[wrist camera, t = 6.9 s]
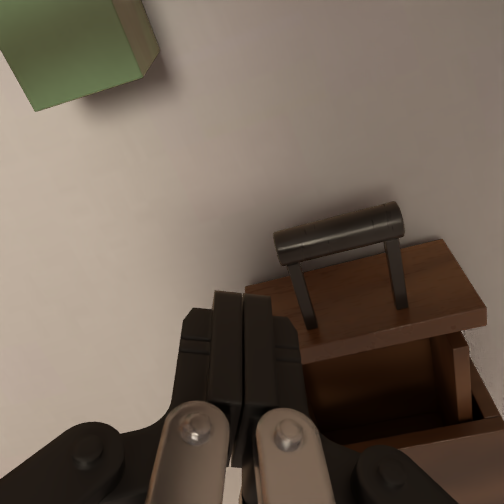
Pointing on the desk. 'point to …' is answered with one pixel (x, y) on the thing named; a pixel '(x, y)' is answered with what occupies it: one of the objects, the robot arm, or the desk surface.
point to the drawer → (377, 327)
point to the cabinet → (459, 450)
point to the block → (74, 46)
